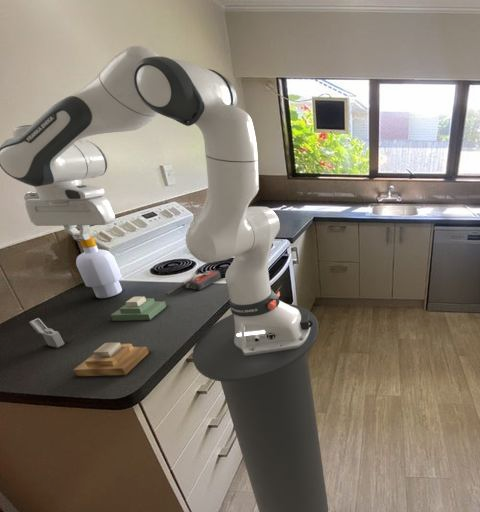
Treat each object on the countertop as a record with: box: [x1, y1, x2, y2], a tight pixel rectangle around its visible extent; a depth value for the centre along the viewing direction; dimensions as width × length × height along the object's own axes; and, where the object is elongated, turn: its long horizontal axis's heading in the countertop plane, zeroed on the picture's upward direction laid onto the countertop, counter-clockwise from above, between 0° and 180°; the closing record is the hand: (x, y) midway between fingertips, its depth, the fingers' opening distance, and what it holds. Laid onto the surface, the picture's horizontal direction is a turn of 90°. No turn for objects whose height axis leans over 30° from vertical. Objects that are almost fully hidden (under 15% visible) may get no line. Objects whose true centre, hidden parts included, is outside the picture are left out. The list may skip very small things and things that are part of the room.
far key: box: [125, 295, 146, 307], centre depth 96 cm, size 4×4×2 cm
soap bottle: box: [75, 233, 123, 299], centre depth 105 cm, size 10×10×24 cm
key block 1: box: [110, 297, 167, 322], centre depth 97 cm, size 12×8×4 cm, turn 92°
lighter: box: [29, 317, 65, 349], centre depth 82 cm, size 7×2×8 cm, turn 75°
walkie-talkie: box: [165, 269, 222, 296], centre depth 115 cm, size 9×4×20 cm
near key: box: [93, 342, 122, 358], centre depth 74 cm, size 4×4×2 cm
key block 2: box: [73, 343, 149, 377], centre depth 75 cm, size 12×8×4 cm, turn 92°
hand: (82, 239), depth 82 cm, fingers closed
